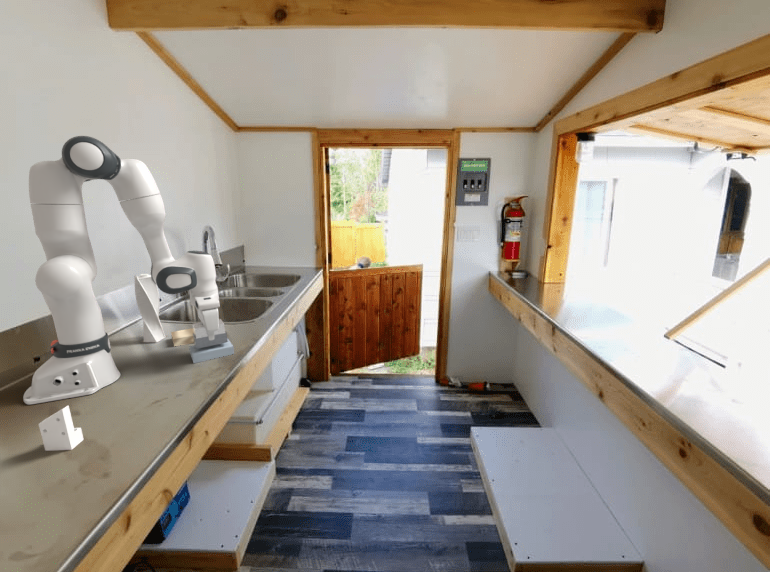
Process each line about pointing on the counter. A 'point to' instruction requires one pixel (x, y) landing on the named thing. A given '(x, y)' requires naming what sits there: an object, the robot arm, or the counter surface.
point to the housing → (202, 335)
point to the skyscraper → (149, 308)
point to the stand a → (182, 337)
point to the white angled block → (60, 431)
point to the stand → (211, 351)
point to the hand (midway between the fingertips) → (209, 336)
